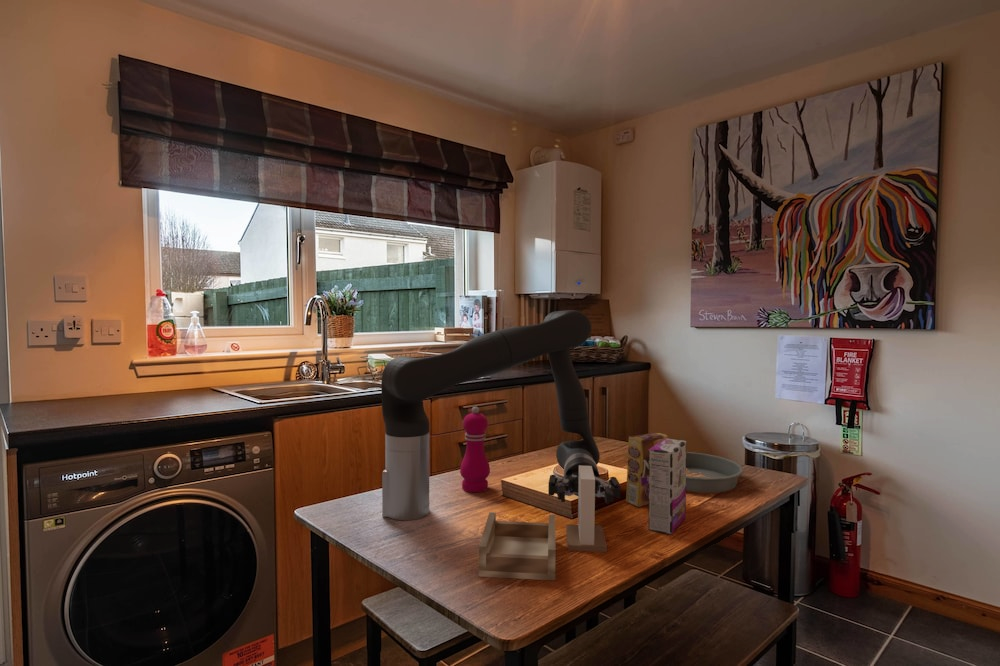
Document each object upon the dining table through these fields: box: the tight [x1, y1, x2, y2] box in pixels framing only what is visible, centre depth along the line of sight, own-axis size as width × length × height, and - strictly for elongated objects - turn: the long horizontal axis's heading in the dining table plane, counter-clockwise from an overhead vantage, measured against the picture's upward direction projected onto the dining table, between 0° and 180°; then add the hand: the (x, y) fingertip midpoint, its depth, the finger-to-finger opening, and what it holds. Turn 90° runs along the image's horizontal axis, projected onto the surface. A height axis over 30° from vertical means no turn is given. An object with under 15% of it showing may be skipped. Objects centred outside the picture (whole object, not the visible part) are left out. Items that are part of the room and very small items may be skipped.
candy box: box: [625, 432, 669, 508], centre depth 127 cm, size 9×4×15 cm, turn 123°
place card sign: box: [565, 465, 608, 553], centre depth 106 cm, size 7×10×13 cm
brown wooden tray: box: [478, 511, 557, 581], centre depth 98 cm, size 12×15×5 cm
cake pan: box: [686, 451, 745, 494], centre depth 145 cm, size 25×25×4 cm
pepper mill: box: [459, 406, 491, 493], centre depth 136 cm, size 7×7×20 cm
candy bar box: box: [648, 438, 687, 535], centre depth 114 cm, size 11×5×16 cm, turn 148°
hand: (585, 498), depth 107 cm, fingers open, 8 cm apart
